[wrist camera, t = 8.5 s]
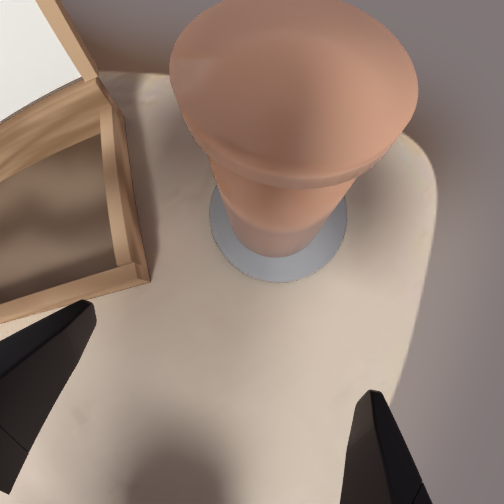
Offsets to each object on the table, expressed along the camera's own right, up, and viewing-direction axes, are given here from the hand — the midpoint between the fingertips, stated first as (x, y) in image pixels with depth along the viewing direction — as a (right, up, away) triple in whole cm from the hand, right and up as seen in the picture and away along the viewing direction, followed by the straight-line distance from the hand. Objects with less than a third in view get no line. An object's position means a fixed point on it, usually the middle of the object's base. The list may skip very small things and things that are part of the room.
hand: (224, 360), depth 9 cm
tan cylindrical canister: (+2, +6, +12) cm, 13 cm away
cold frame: (-17, +5, +13) cm, 22 cm away
